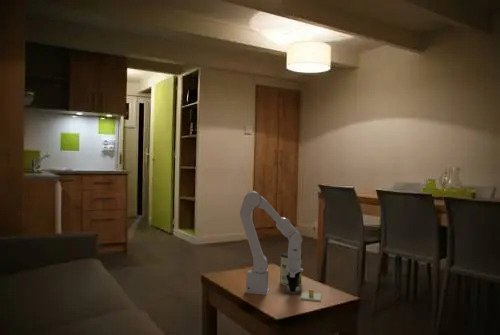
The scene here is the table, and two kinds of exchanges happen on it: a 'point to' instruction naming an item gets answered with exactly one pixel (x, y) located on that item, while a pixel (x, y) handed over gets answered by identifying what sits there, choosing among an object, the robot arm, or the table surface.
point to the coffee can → (284, 269)
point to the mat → (293, 294)
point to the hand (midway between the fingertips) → (293, 289)
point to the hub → (311, 296)
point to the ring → (295, 290)
